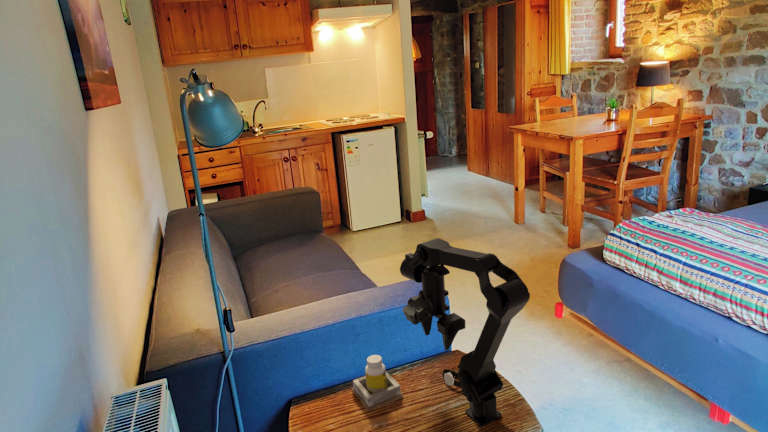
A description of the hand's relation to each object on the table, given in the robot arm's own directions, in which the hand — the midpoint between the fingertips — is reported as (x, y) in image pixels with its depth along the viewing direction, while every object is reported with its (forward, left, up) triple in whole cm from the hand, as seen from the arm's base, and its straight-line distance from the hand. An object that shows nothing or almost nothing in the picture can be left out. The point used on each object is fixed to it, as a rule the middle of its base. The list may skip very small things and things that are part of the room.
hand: (437, 342), depth 130 cm
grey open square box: (+6, +16, -13) cm, 21 cm away
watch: (-1, -4, -13) cm, 14 cm away
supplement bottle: (+6, +16, -12) cm, 21 cm away
